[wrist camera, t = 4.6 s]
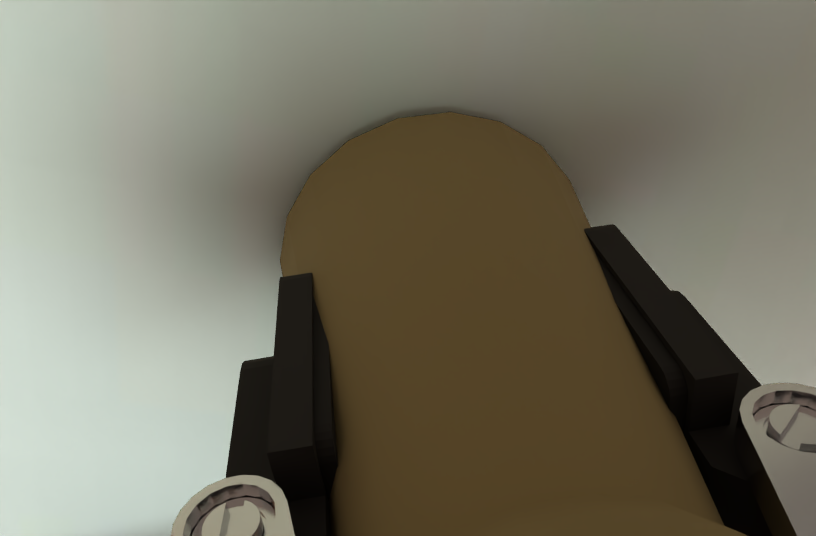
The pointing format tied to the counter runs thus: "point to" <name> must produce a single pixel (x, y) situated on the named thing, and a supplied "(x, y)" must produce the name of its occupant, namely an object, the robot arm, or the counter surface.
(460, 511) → the olive brown pawn
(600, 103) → the counter surface
